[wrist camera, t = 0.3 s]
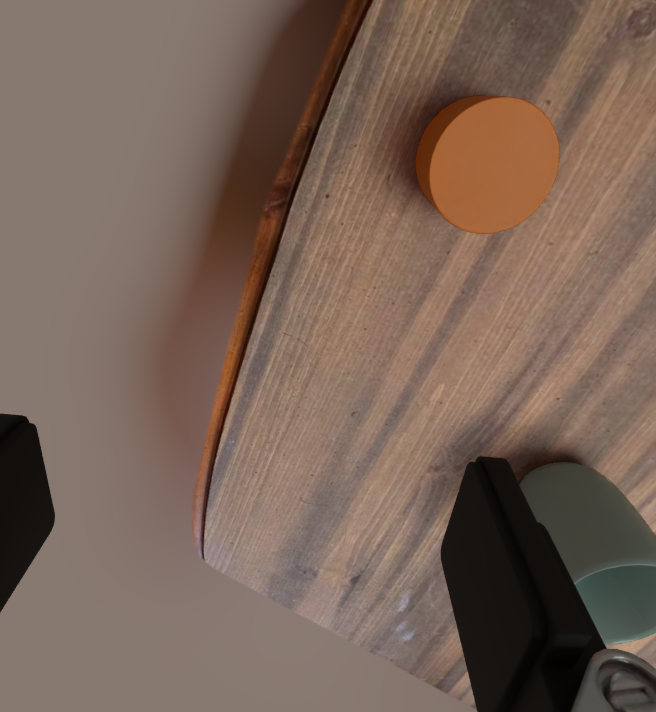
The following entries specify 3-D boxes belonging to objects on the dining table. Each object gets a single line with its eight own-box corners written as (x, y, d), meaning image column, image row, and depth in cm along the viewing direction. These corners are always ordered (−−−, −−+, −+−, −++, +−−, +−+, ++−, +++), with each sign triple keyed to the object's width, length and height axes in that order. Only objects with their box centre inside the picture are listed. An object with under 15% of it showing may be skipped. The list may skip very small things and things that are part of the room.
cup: (614, 443, 35) (709, 559, 27) (591, 520, 39) (668, 645, 30) (506, 446, 36) (564, 564, 27) (493, 523, 39) (541, 648, 31)
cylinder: (428, 88, 25) (445, 88, 21) (543, 103, 25) (579, 106, 22) (405, 209, 28) (417, 226, 24) (509, 221, 28) (535, 240, 24)
